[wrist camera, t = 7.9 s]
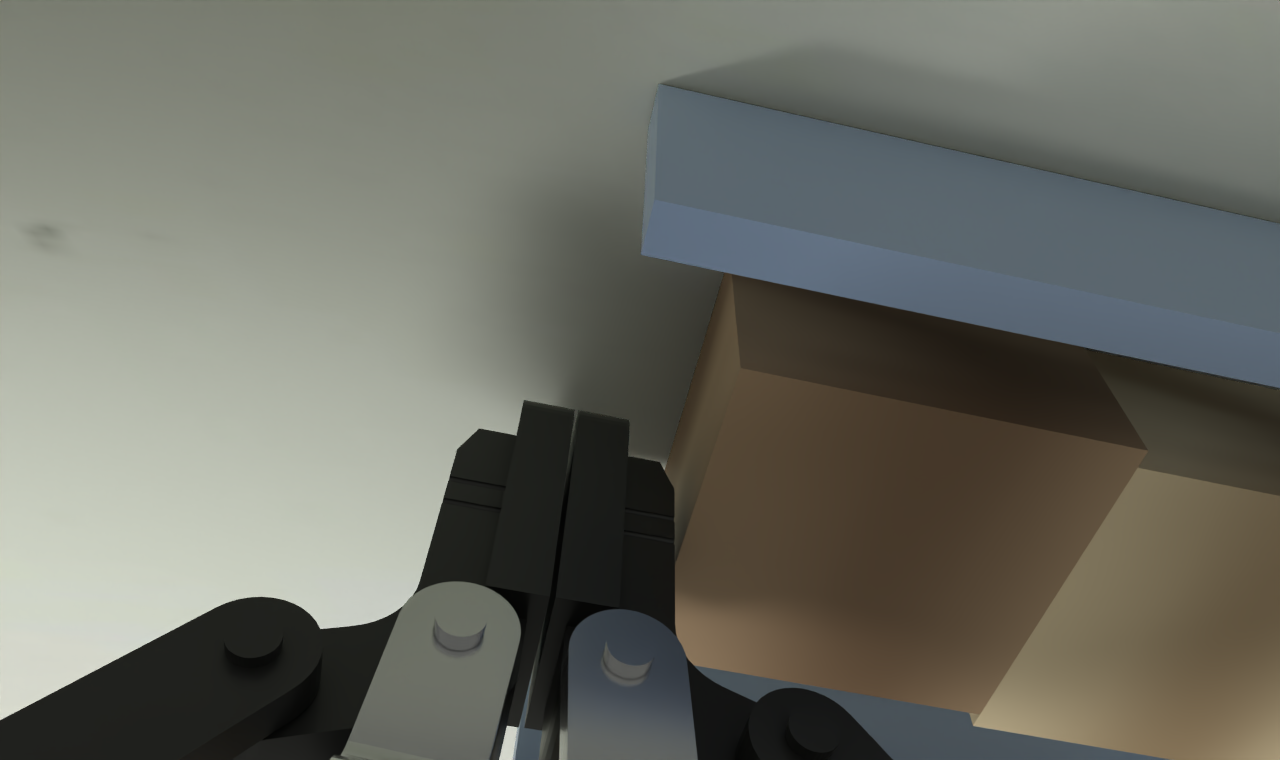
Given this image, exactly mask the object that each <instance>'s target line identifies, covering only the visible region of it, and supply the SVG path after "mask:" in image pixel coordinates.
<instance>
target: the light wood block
mask: <svg viewBox="0 0 1280 760" xmlns="http://www.w3.org/2000/svg"><path fill="white" fill-rule="evenodd" d="M1085 350H1086V349H1085ZM1086 352H1087V353H1088V355H1089V356H1090V358H1091V360H1092V361H1093V363H1094V364H1095V366H1096V368H1097V369H1098V371H1099V372H1100V374H1101V376H1102V377H1103V379H1104V380H1105V382H1106V384H1107V385H1108V387H1109V388H1110V390H1111V392H1112V393H1113V395H1114V396H1115V398H1116V400H1117V401H1118V403H1119V404H1120V406H1121V408H1122V409H1123V411H1124V412H1125V414H1126V416H1127V417H1128V419H1129V420H1130V422H1131V424H1132V425H1133V427H1134V428H1135V430H1136V432H1137V433H1138V435H1139V436H1140V438H1141V440H1142V441H1143V443H1144V444H1145V446H1146V448H1147V449H1148V452H1147V454H1146V456H1145V457H1144V459H1143V460H1142V462H1141V463H1140V465H1139V466H1138V468H1137V470H1136V471H1135V473H1134V474H1133V476H1132V477H1131V479H1130V481H1129V482H1128V484H1127V485H1126V487H1125V488H1124V490H1123V491H1122V493H1121V495H1120V496H1119V498H1118V499H1117V501H1116V502H1115V504H1114V506H1113V507H1112V509H1111V510H1110V512H1109V513H1108V515H1107V517H1106V518H1105V520H1104V521H1103V523H1102V524H1101V526H1100V527H1099V529H1098V531H1097V532H1096V534H1095V535H1094V537H1093V538H1092V540H1091V542H1090V543H1089V545H1088V546H1087V548H1086V549H1085V551H1084V552H1083V554H1082V556H1081V557H1080V559H1079V560H1078V562H1077V563H1076V565H1075V567H1074V568H1073V570H1072V571H1071V573H1070V574H1069V576H1068V578H1067V579H1066V581H1065V582H1064V584H1063V585H1062V587H1061V588H1060V590H1059V592H1058V593H1057V595H1056V596H1055V598H1054V599H1053V601H1052V603H1051V604H1050V606H1049V607H1048V609H1047V610H1046V612H1045V613H1044V615H1043V617H1042V618H1041V620H1040V621H1039V623H1038V624H1037V626H1036V628H1035V629H1034V631H1033V632H1032V634H1031V635H1030V637H1029V639H1028V640H1027V642H1026V643H1025V645H1024V646H1023V648H1022V649H1021V651H1020V653H1019V654H1018V656H1017V657H1016V659H1015V660H1014V662H1013V664H1012V665H1011V667H1010V668H1009V670H1008V671H1007V673H1006V674H1005V676H1004V678H1003V679H1002V681H1001V682H1000V684H999V685H998V687H997V689H996V690H995V692H994V693H993V695H992V696H991V698H990V700H989V701H988V703H987V704H986V706H985V707H984V709H983V710H982V712H981V714H980V715H979V714H973V713H969V714H970V717H971V721H972V724H973V726H976V727H982V728H988V729H994V730H1000V731H1006V732H1012V733H1018V734H1024V735H1029V736H1035V737H1041V738H1047V739H1053V740H1059V741H1065V742H1071V743H1076V744H1082V745H1088V746H1094V747H1100V748H1106V749H1112V750H1118V751H1124V752H1129V753H1135V754H1141V755H1147V756H1153V757H1159V758H1165V759H1171V760H1280V390H1276V389H1271V388H1267V387H1262V386H1257V385H1252V384H1247V383H1243V382H1238V381H1233V380H1228V379H1224V378H1219V377H1214V376H1209V375H1205V374H1200V373H1195V372H1190V371H1186V370H1181V369H1176V368H1171V367H1167V366H1162V365H1157V364H1152V363H1148V362H1143V361H1138V360H1133V359H1128V358H1124V357H1119V356H1114V355H1109V354H1105V353H1100V352H1095V351H1090V350H1086Z"/></svg>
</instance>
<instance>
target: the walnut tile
mask: <svg viewBox="0 0 1280 760" xmlns="http://www.w3.org/2000/svg"><path fill="white" fill-rule="evenodd" d="M1147 452H1148V449H1147V448H1146V446H1145V444H1144V443H1143V441H1142V440H1141V438H1140V436H1139V435H1138V433H1137V432H1136V430H1135V428H1134V427H1133V425H1132V424H1131V422H1130V420H1129V419H1128V417H1127V416H1126V414H1125V412H1124V411H1123V409H1122V408H1121V406H1120V404H1119V403H1118V401H1117V400H1116V398H1115V396H1114V395H1113V393H1112V392H1111V390H1110V388H1109V387H1108V385H1107V384H1106V382H1105V380H1104V379H1103V377H1102V376H1101V374H1100V372H1099V371H1098V369H1097V368H1096V366H1095V364H1094V363H1093V361H1092V360H1091V358H1090V356H1089V355H1088V353H1087V352H1086V350H1085V348H1084V347H1081V346H1076V345H1071V344H1066V343H1061V342H1057V341H1052V340H1047V339H1042V338H1037V337H1033V336H1028V335H1023V334H1018V333H1013V332H1009V331H1004V330H999V329H994V328H989V327H985V326H980V325H975V324H970V323H965V322H961V321H956V320H951V319H946V318H941V317H937V316H932V315H927V314H922V313H917V312H913V311H908V310H903V309H898V308H893V307H889V306H884V305H879V304H874V303H869V302H865V301H860V300H855V299H850V298H845V297H841V296H836V295H831V294H826V293H821V292H817V291H812V290H807V289H802V288H797V287H793V286H788V285H783V284H778V283H773V282H769V281H764V280H759V279H754V278H749V277H745V276H740V275H735V274H730V273H725V272H724V276H723V279H722V282H721V286H720V289H719V292H718V295H717V299H716V302H715V305H714V309H713V312H712V315H711V319H710V322H709V325H708V329H707V332H706V335H705V339H704V342H703V345H702V349H701V352H700V355H699V358H698V362H697V365H696V368H695V372H694V375H693V378H692V382H691V385H690V388H689V392H688V395H687V398H686V402H685V405H684V408H683V411H682V415H681V418H680V421H679V425H678V428H677V431H676V435H675V438H674V441H673V445H672V448H671V451H670V455H669V458H668V461H667V464H666V468H665V473H666V475H667V476H668V478H669V480H670V482H671V484H672V485H673V487H674V492H675V517H674V522H675V540H674V545H675V627H676V635H677V638H678V640H679V641H680V643H681V645H682V647H683V649H684V651H685V654H686V656H687V658H688V659H689V661H690V662H691V663H692V664H693V665H695V666H701V667H706V668H712V669H718V670H724V671H730V672H735V673H741V674H747V675H753V676H759V677H764V678H770V679H776V680H782V681H788V682H793V683H799V684H805V685H811V686H817V687H822V688H828V689H834V690H840V691H846V692H851V693H857V694H863V695H869V696H875V697H880V698H886V699H892V700H898V701H903V702H909V703H915V704H921V705H927V706H932V707H938V708H944V709H950V710H956V711H961V712H967V713H973V714H979V715H980V714H981V712H982V710H983V709H984V707H985V706H986V704H987V703H988V701H989V700H990V698H991V696H992V695H993V693H994V692H995V690H996V689H997V687H998V685H999V684H1000V682H1001V681H1002V679H1003V678H1004V676H1005V674H1006V673H1007V671H1008V670H1009V668H1010V667H1011V665H1012V664H1013V662H1014V660H1015V659H1016V657H1017V656H1018V654H1019V653H1020V651H1021V649H1022V648H1023V646H1024V645H1025V643H1026V642H1027V640H1028V639H1029V637H1030V635H1031V634H1032V632H1033V631H1034V629H1035V628H1036V626H1037V624H1038V623H1039V621H1040V620H1041V618H1042V617H1043V615H1044V613H1045V612H1046V610H1047V609H1048V607H1049V606H1050V604H1051V603H1052V601H1053V599H1054V598H1055V596H1056V595H1057V593H1058V592H1059V590H1060V588H1061V587H1062V585H1063V584H1064V582H1065V581H1066V579H1067V578H1068V576H1069V574H1070V573H1071V571H1072V570H1073V568H1074V567H1075V565H1076V563H1077V562H1078V560H1079V559H1080V557H1081V556H1082V554H1083V552H1084V551H1085V549H1086V548H1087V546H1088V545H1089V543H1090V542H1091V540H1092V538H1093V537H1094V535H1095V534H1096V532H1097V531H1098V529H1099V527H1100V526H1101V524H1102V523H1103V521H1104V520H1105V518H1106V517H1107V515H1108V513H1109V512H1110V510H1111V509H1112V507H1113V506H1114V504H1115V502H1116V501H1117V499H1118V498H1119V496H1120V495H1121V493H1122V491H1123V490H1124V488H1125V487H1126V485H1127V484H1128V482H1129V481H1130V479H1131V477H1132V476H1133V474H1134V473H1135V471H1136V470H1137V468H1138V466H1139V465H1140V463H1141V462H1142V460H1143V459H1144V457H1145V456H1146V454H1147Z"/></svg>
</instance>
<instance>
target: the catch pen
mask: <svg viewBox="0 0 1280 760" xmlns="http://www.w3.org/2000/svg"><path fill="white" fill-rule="evenodd" d="M641 255H644V256H649V257H653V258H658V259H663V260H668V261H673V262H677V263H682V264H687V265H692V266H697V267H701V268H706V269H711V270H716V271H721V272H725V273H730V274H735V275H740V276H745V277H749V278H754V279H759V280H764V281H769V282H773V283H778V284H783V285H788V286H793V287H797V288H802V289H807V290H812V291H817V292H821V293H826V294H831V295H836V296H841V297H845V298H850V299H855V300H860V301H865V302H869V303H874V304H879V305H884V306H889V307H893V308H898V309H903V310H908V311H913V312H917V313H922V314H927V315H932V316H937V317H941V318H946V319H951V320H956V321H961V322H965V323H970V324H975V325H980V326H985V327H989V328H994V329H999V330H1004V331H1009V332H1013V333H1018V334H1023V335H1028V336H1033V337H1037V338H1042V339H1047V340H1052V341H1057V342H1061V343H1066V344H1071V345H1076V346H1081V347H1085V348H1090V349H1095V350H1100V351H1104V352H1109V353H1114V354H1119V355H1124V356H1128V357H1133V358H1138V359H1143V360H1148V361H1152V362H1157V363H1162V364H1167V365H1172V366H1176V367H1181V368H1186V369H1191V370H1196V371H1200V372H1205V373H1210V374H1215V375H1220V376H1224V377H1229V378H1234V379H1239V380H1244V381H1248V382H1253V383H1258V384H1263V385H1268V386H1272V387H1277V388H1280V224H1279V223H1274V222H1270V221H1265V220H1261V219H1257V218H1252V217H1248V216H1243V215H1239V214H1234V213H1230V212H1225V211H1221V210H1217V209H1212V208H1208V207H1203V206H1199V205H1194V204H1190V203H1186V202H1181V201H1177V200H1172V199H1168V198H1163V197H1159V196H1154V195H1150V194H1146V193H1141V192H1137V191H1132V190H1128V189H1123V188H1119V187H1115V186H1110V185H1106V184H1101V183H1097V182H1092V181H1088V180H1084V179H1079V178H1075V177H1070V176H1066V175H1061V174H1057V173H1052V172H1048V171H1044V170H1039V169H1035V168H1030V167H1026V166H1021V165H1017V164H1013V163H1008V162H1004V161H999V160H995V159H990V158H986V157H981V156H977V155H973V154H968V153H964V152H959V151H955V150H950V149H946V148H942V147H937V146H933V145H928V144H924V143H919V142H915V141H910V140H906V139H902V138H897V137H893V136H888V135H884V134H879V133H875V132H871V131H866V130H862V129H857V128H853V127H848V126H844V125H839V124H835V123H831V122H826V121H822V120H817V119H813V118H808V117H804V116H800V115H795V114H791V113H786V112H782V111H777V110H773V109H769V108H764V107H760V106H755V105H751V104H746V103H742V102H737V101H733V100H729V99H724V98H720V97H715V96H711V95H706V94H702V93H698V92H693V91H689V90H684V89H680V88H675V87H671V86H666V85H662V84H659V85H658V89H657V93H656V98H655V102H654V106H653V111H652V115H651V119H650V124H649V128H648V141H647V158H646V175H645V192H644V210H643V227H642V244H641ZM694 666H695V665H694ZM695 667H696V668H697V669H698V670H699V671H700V672H701V673H702V674H704V675H705V676H706V677H708V678H709V679H711V680H712V681H714V682H715V683H717V684H719V685H721V686H723V687H725V688H727V689H729V690H731V691H733V692H736V693H738V694H740V695H742V696H744V697H746V698H749V699H751V700H753V701H755V702H757V701H758V700H759V699H760V698H761V697H763V696H764V695H766V694H767V693H769V692H772V691H774V690H777V689H782V688H802V689H807V690H811V691H815V692H817V693H819V694H822V695H824V696H826V697H828V698H830V699H832V700H833V701H835V702H836V703H838V704H839V705H840V706H842V707H843V708H844V709H845V710H846V711H847V712H848V713H849V714H851V716H852V717H853V718H854V719H855V720H856V721H857V722H858V723H859V724H860V725H861V726H862V727H863V728H864V729H865V730H866V731H867V733H868V734H869V735H870V736H871V737H872V738H873V739H874V740H875V741H876V742H877V743H878V744H879V745H880V746H881V747H882V748H883V750H884V751H885V752H886V753H887V754H888V755H889V756H890V757H891V758H892V759H893V760H1171V759H1165V758H1159V757H1153V756H1147V755H1141V754H1135V753H1129V752H1124V751H1118V750H1112V749H1106V748H1100V747H1094V746H1088V745H1082V744H1076V743H1071V742H1065V741H1059V740H1053V739H1047V738H1041V737H1035V736H1029V735H1024V734H1018V733H1012V732H1006V731H1000V730H994V729H988V728H982V727H976V726H973V724H972V721H971V717H970V714H969V713H967V712H961V711H956V710H950V709H944V708H938V707H932V706H927V705H921V704H915V703H909V702H903V701H898V700H892V699H886V698H880V697H875V696H869V695H863V694H857V693H851V692H846V691H840V690H834V689H828V688H822V687H817V686H811V685H805V684H799V683H793V682H788V681H782V680H776V679H770V678H764V677H759V676H753V675H747V674H741V673H735V672H730V671H724V670H718V669H712V668H706V667H701V666H695ZM531 676H532V674H531ZM530 683H531V678H530V682H529V687H528V691H527V695H526V699H525V703H524V708H523V712H522V716H521V720H520V724H519V727H518V728H517V735H516V741H515V748H514V755H513V760H539V752H540V744H541V736H542V731H541V730H534V729H528V728H524V725H525V718H526V711H527V704H528V697H529V690H530Z"/></svg>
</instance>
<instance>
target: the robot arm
mask: <svg viewBox="0 0 1280 760" xmlns="http://www.w3.org/2000/svg"><path fill="white" fill-rule="evenodd" d="M574 412H575V410H573V409H568V408H563V407H558V406H552V405H547V404H542V403H537V402H531V401H526V400H524V403H523V407H522V412H521V417H520V422H519V426H518V431H517V436H516V435H511V434H505V433H500V432H495V431H489V430H484V429H478V430H477V431H476V432H475V433H474V434H473V435H472V436H471V437H470V438H469V439H468V440H467V441H466V442H465V443H463V444H462V445H461V446H460V447H459V448H458V449H457V452H456V456H455V459H454V463H453V467H452V470H451V474H450V478H449V481H448V484H447V488H446V491H445V495H444V499H443V503H442V505H441V509H440V512H439V516H438V519H437V523H436V527H435V530H434V534H433V537H432V541H431V544H430V548H429V551H428V555H427V558H426V562H425V565H424V569H423V572H422V576H421V579H420V582H419V585H418V588H417V590H416V591H415V593H414V595H413V596H412V597H411V598H410V599H409V600H408V601H407V602H406V603H405V604H404V606H402V607H401V608H400V609H399V610H397V611H396V612H394V613H392V614H391V615H389V616H387V617H385V618H382V619H380V620H378V621H375V622H371V623H367V624H363V625H356V626H349V627H339V628H328V629H320V628H319V626H318V624H317V622H316V621H315V620H314V619H313V617H312V616H311V615H310V614H309V613H308V612H306V611H305V610H304V609H302V608H301V607H299V606H297V605H295V604H293V603H290V602H288V601H285V600H281V599H276V598H268V597H251V598H244V599H238V600H235V601H232V602H228V603H225V604H223V605H221V606H219V607H216V608H214V609H212V610H211V611H209V612H207V613H205V614H203V615H201V616H199V617H197V618H195V619H193V620H191V621H190V622H188V623H186V624H184V625H182V626H180V627H178V628H176V629H174V630H172V631H170V632H168V633H167V634H165V635H163V636H161V637H159V638H157V639H155V640H153V641H151V642H149V643H147V644H146V645H144V646H142V647H140V648H138V649H136V650H134V651H132V652H130V653H128V654H126V655H124V656H123V657H121V658H119V659H117V660H115V661H113V662H111V663H109V664H107V665H105V666H103V667H102V668H100V669H98V670H96V671H94V672H92V673H90V674H88V675H86V676H84V677H82V678H80V679H79V680H77V681H75V682H73V683H71V684H69V685H67V686H65V687H63V688H61V689H59V690H58V691H56V692H54V693H52V694H50V695H48V696H46V697H44V698H42V699H40V700H38V701H36V702H35V703H33V704H31V705H29V706H27V707H25V708H23V709H21V710H19V711H17V712H15V713H14V714H12V715H10V716H8V717H6V718H4V719H2V720H0V760H499V757H500V753H501V749H502V744H503V740H504V735H505V731H506V727H507V726H513V727H519V724H520V720H521V716H522V712H523V708H524V703H525V699H526V695H527V691H528V687H529V682H530V678H531V683H530V690H529V697H528V704H527V711H526V718H525V725H524V728H528V729H534V730H541V731H542V736H541V744H540V752H539V760H893V759H892V758H891V757H890V756H889V755H888V754H887V753H886V752H885V751H884V750H883V748H882V747H881V746H880V745H879V744H878V743H877V742H876V741H875V740H874V739H873V738H872V737H871V736H870V735H869V734H868V733H867V731H866V730H865V729H864V728H863V727H862V726H861V725H860V724H859V723H858V722H857V721H856V720H855V719H854V718H853V717H852V716H851V714H849V713H848V712H847V711H846V710H845V709H844V708H843V707H842V706H840V705H839V704H838V703H836V702H835V701H833V700H832V699H830V698H828V697H826V696H824V695H822V694H819V693H817V692H815V691H811V690H807V689H802V688H782V689H777V690H774V691H772V692H769V693H767V694H766V695H764V696H763V697H761V698H760V699H759V700H758V701H757V702H755V701H753V700H751V699H749V698H746V697H744V696H742V695H740V694H738V693H736V692H733V691H731V690H729V689H727V688H725V687H723V686H721V685H719V684H717V683H715V682H714V681H712V680H711V679H709V678H708V677H706V676H705V675H704V674H702V673H701V672H700V671H699V670H698V669H697V668H696V667H695V666H694V665H693V664H692V663H691V662H690V661H689V659H688V658H687V656H686V654H685V651H684V649H683V647H682V645H681V643H680V641H679V640H678V638H677V635H676V627H675V545H674V540H675V522H674V517H675V492H674V487H673V485H672V484H671V482H670V480H669V478H668V476H667V475H666V473H665V471H664V469H663V467H662V465H661V464H660V462H656V461H651V460H645V459H640V458H635V457H629V456H628V445H629V427H630V422H629V420H627V419H622V418H616V417H611V416H606V415H601V414H595V413H590V412H585V411H580V410H579V411H578V414H577V418H576V422H575V426H574V431H573V435H572V428H573V420H574ZM571 435H572V439H571ZM570 443H571V444H570ZM531 674H532V676H531Z"/></svg>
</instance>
